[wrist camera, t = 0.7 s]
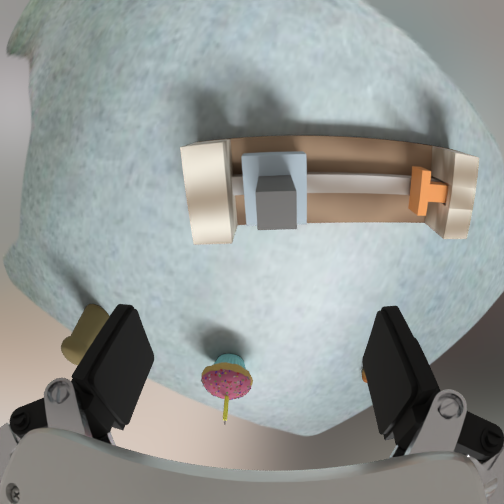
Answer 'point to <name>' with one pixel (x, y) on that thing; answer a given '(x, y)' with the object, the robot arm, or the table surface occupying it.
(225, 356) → the cupcake
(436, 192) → the button
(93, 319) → the cork
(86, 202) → the table surface
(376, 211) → the rail bench
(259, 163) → the carriage
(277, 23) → the table surface
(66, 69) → the table surface
